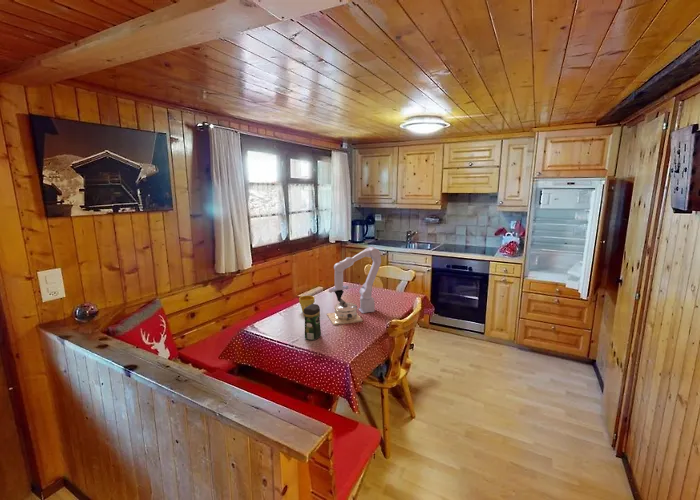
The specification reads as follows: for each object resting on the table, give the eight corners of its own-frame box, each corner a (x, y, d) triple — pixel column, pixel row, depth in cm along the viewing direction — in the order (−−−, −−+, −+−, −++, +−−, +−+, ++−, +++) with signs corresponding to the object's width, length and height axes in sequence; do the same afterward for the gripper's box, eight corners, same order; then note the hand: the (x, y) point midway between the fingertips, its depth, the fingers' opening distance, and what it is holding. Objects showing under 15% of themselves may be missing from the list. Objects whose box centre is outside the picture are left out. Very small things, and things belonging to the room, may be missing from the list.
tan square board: (352, 309, 227) (352, 301, 226) (362, 321, 206) (362, 312, 205) (325, 312, 221) (325, 304, 220) (333, 325, 201) (333, 316, 199)
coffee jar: (310, 332, 191) (309, 302, 188) (322, 334, 188) (321, 303, 185) (302, 339, 182) (300, 307, 179) (314, 341, 179) (313, 309, 176)
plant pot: (312, 314, 219) (311, 300, 217) (297, 313, 221) (296, 299, 219) (316, 309, 229) (316, 295, 227) (302, 308, 231) (302, 295, 229)
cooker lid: (360, 310, 208) (360, 305, 207) (338, 313, 203) (338, 309, 202) (350, 301, 225) (350, 297, 224) (329, 304, 219) (329, 300, 219)
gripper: (344, 278, 224) (344, 297, 226) (326, 281, 215) (326, 301, 218) (350, 280, 218) (350, 299, 221) (332, 284, 210) (332, 304, 212)
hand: (339, 300), depth 219 cm, fingers closed, pressing on cooker lid
